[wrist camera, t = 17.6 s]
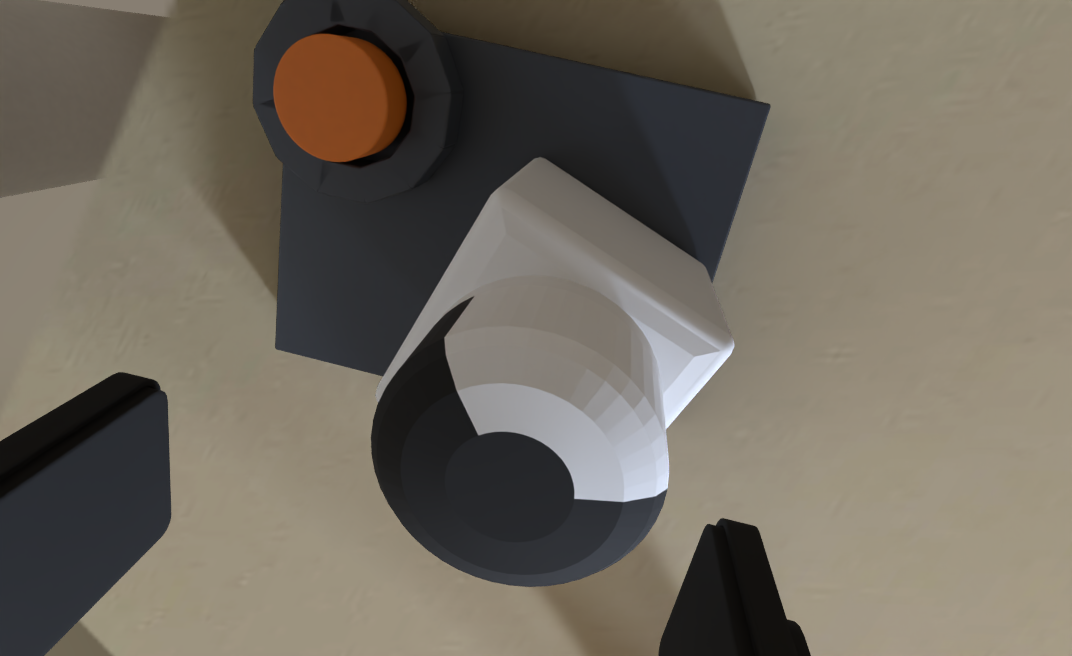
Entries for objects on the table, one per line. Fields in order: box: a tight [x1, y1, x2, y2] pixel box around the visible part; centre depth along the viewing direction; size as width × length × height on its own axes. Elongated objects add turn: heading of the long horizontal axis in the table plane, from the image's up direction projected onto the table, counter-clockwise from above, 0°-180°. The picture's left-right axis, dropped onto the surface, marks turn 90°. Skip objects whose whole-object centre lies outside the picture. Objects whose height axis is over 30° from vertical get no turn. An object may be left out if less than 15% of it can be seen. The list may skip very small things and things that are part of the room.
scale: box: [253, 0, 770, 376], centre depth 23 cm, size 16×14×4 cm
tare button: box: [273, 34, 407, 162], centre depth 19 cm, size 4×4×2 cm
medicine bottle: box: [371, 157, 734, 587], centre depth 17 cm, size 7×7×12 cm
